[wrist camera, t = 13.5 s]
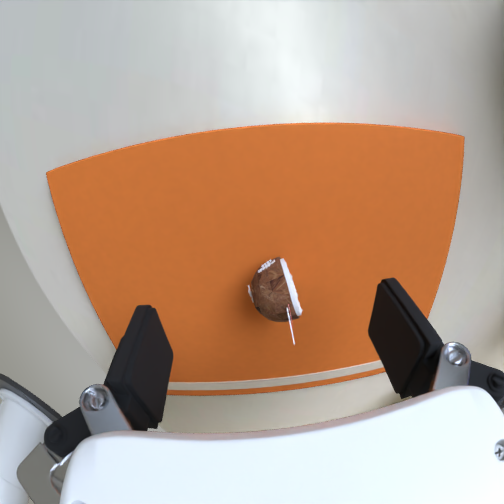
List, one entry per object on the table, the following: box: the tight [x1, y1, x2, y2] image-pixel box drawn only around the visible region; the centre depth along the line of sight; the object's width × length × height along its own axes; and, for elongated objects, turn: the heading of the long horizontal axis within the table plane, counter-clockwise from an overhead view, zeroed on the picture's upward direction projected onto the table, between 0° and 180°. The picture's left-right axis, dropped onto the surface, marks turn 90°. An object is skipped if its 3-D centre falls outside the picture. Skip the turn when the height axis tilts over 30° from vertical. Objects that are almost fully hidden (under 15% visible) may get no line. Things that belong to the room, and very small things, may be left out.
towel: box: [46, 123, 464, 396], centre depth 15 cm, size 22×18×1 cm
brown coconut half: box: [248, 256, 302, 345], centre depth 12 cm, size 3×2×4 cm
